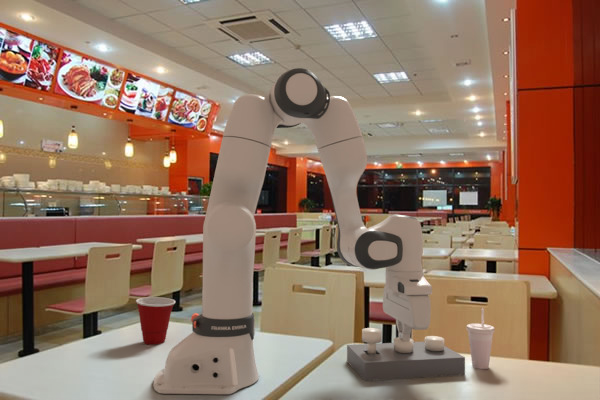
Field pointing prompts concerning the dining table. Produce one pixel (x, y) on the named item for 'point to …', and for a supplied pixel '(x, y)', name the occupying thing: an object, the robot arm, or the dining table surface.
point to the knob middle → (403, 345)
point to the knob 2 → (434, 343)
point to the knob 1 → (371, 338)
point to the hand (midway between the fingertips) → (404, 339)
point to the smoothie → (480, 343)
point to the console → (404, 362)
